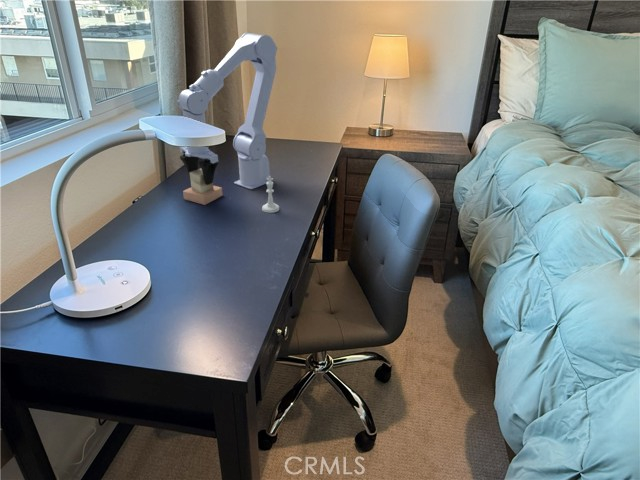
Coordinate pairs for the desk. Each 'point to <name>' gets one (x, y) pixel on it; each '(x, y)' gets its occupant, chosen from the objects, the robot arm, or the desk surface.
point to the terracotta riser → (202, 195)
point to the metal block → (199, 182)
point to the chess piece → (270, 199)
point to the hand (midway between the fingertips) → (201, 180)
